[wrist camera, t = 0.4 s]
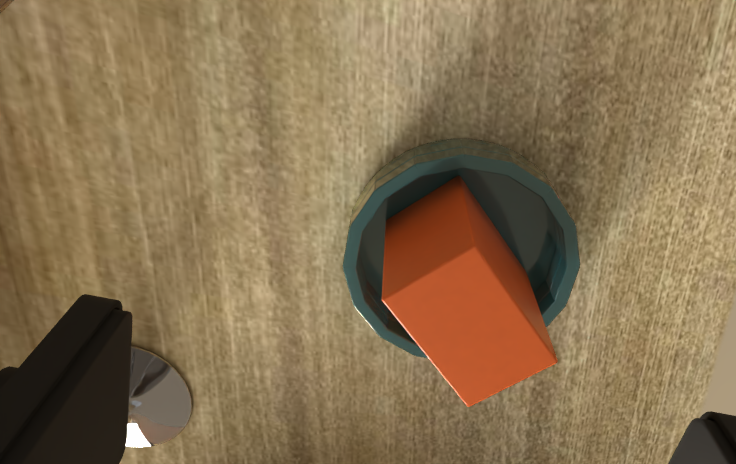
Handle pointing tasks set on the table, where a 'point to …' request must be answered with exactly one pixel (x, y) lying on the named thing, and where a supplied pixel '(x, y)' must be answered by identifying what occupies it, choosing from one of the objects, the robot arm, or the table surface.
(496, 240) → the block
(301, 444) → the table surface
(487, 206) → the dish
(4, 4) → the holder
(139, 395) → the wine glass
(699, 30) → the table surface
